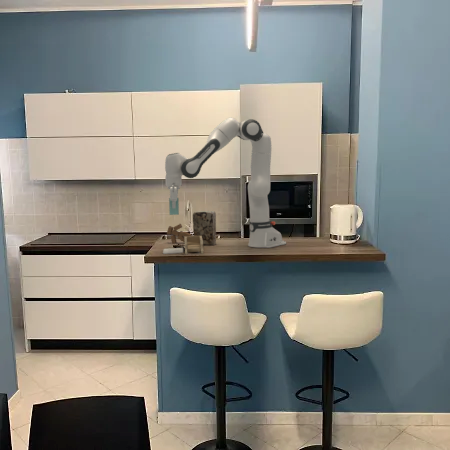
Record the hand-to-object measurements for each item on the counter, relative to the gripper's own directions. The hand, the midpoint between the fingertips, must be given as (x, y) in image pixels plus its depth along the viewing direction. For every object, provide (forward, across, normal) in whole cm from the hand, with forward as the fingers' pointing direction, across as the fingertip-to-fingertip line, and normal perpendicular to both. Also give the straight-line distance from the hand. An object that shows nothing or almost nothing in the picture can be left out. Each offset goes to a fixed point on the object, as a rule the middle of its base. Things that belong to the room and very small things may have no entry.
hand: (174, 207), depth 266 cm
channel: (+24, -1, -11) cm, 27 cm away
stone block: (+24, +17, -18) cm, 34 cm away
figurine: (+25, +26, -2) cm, 36 cm away
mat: (+25, 0, +1) cm, 25 cm away
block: (+4, 0, 0) cm, 4 cm away
